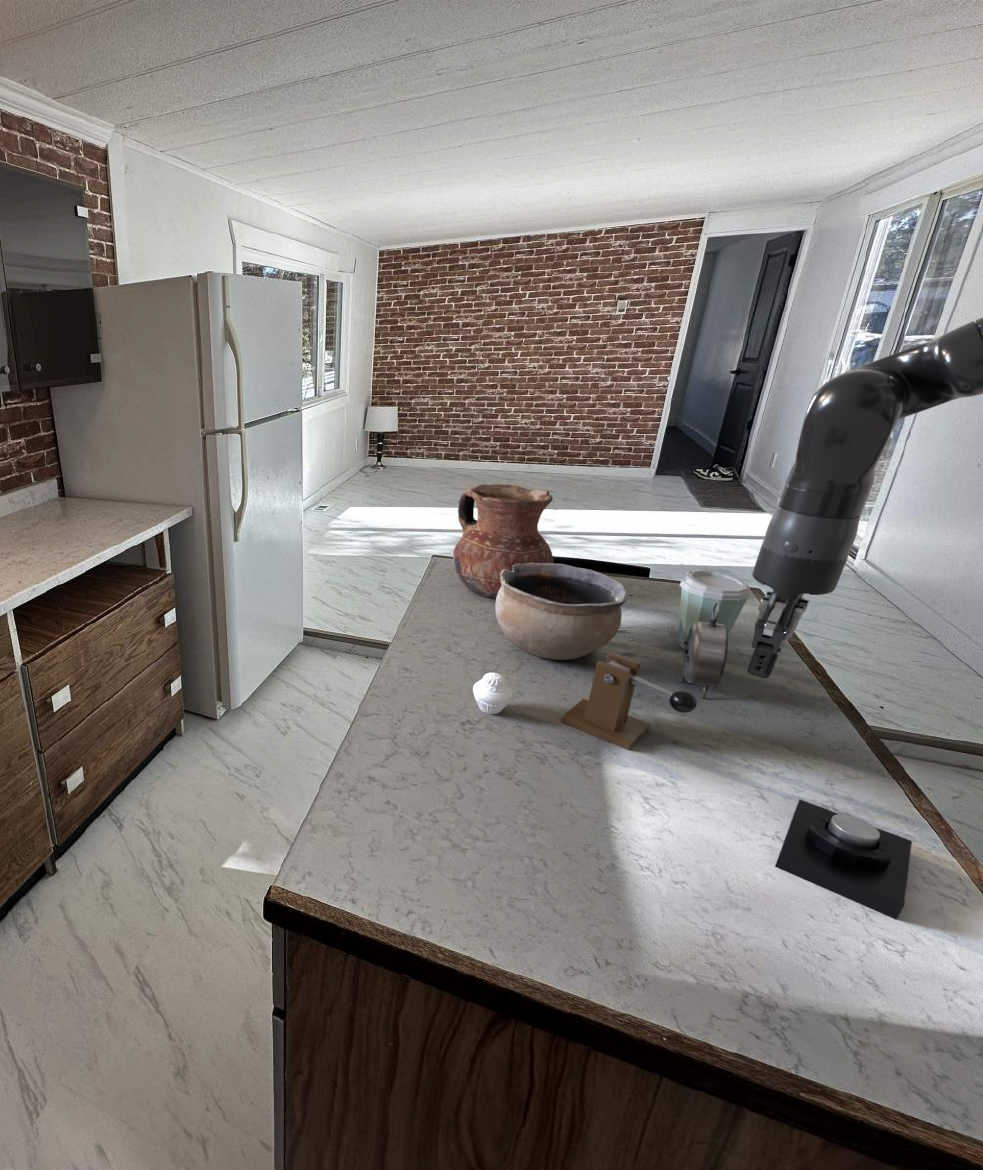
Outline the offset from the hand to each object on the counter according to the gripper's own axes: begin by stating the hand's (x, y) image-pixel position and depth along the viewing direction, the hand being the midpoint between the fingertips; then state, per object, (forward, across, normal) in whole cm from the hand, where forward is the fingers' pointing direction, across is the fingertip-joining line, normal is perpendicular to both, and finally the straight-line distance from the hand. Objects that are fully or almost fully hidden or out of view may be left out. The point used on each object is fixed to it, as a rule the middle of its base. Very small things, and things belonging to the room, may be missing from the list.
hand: (758, 674), depth 80 cm
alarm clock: (+18, +28, +10) cm, 35 cm away
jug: (+19, +47, +55) cm, 74 cm away
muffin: (+19, -4, +31) cm, 36 cm away
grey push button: (+14, -5, -13) cm, 20 cm away
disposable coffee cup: (+18, +45, +13) cm, 50 cm away
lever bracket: (+18, +4, +16) cm, 25 cm away
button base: (+18, -5, -13) cm, 23 cm away
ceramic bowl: (+19, +24, +33) cm, 45 cm away
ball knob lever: (+11, +4, +12) cm, 16 cm away
